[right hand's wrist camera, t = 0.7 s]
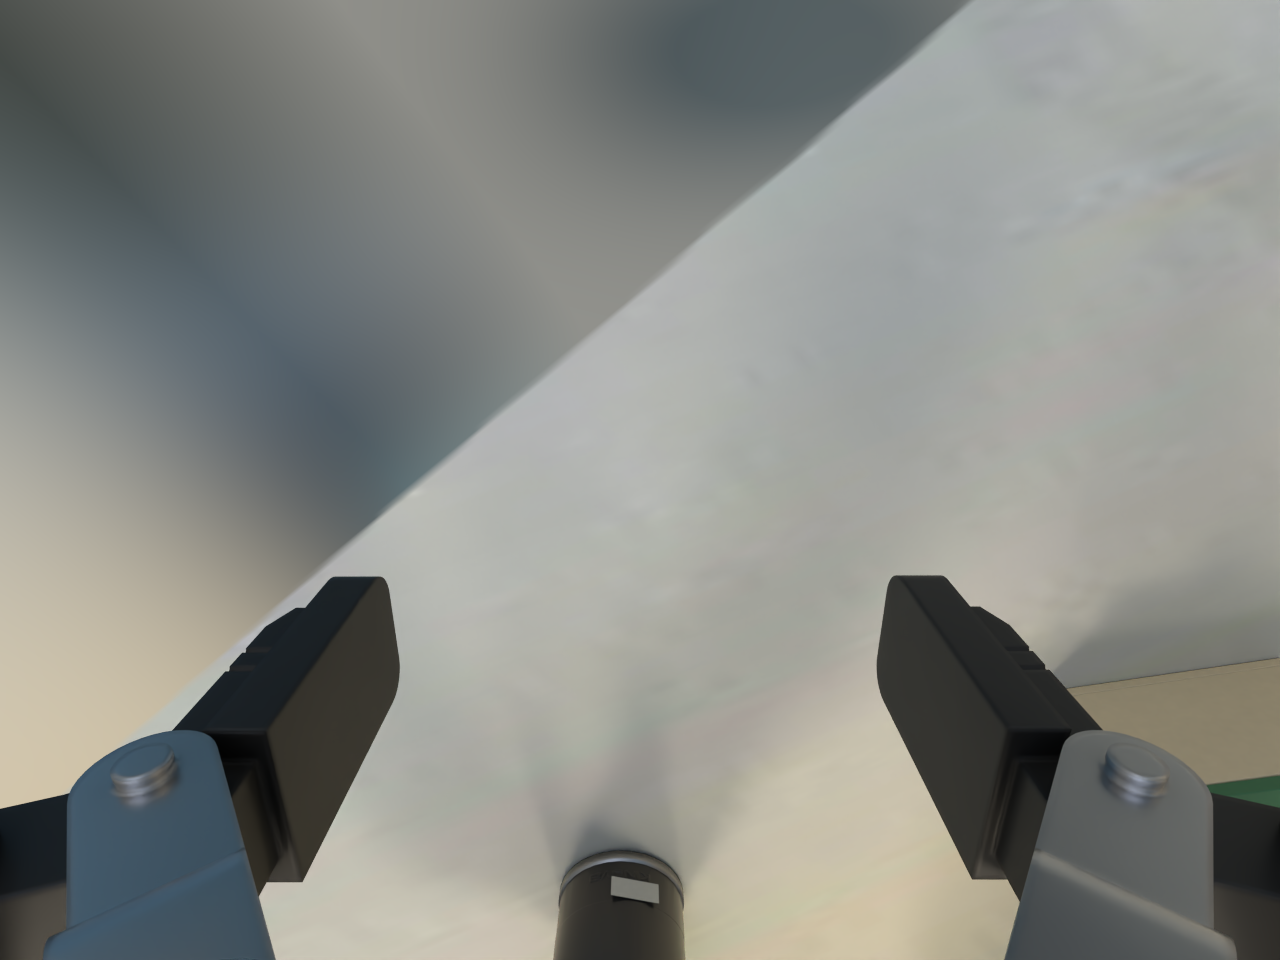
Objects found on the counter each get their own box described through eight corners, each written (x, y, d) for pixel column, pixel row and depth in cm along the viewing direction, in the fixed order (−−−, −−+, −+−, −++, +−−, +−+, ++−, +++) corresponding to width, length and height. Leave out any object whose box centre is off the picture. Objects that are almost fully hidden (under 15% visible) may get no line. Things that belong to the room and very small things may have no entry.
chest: (1030, 803, 50) (1105, 919, 42) (1033, 693, 47) (1115, 795, 38) (1258, 773, 49) (1380, 886, 41) (1279, 657, 46) (1417, 755, 37)
